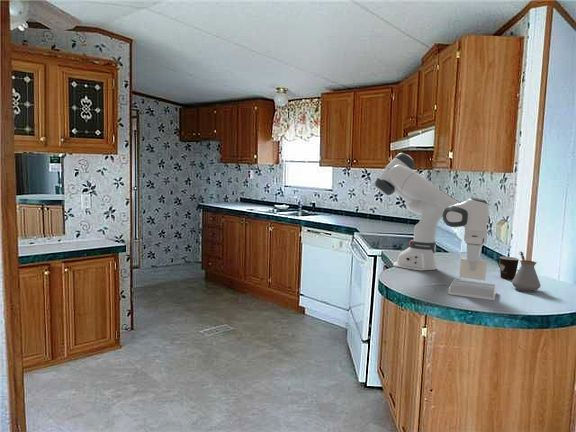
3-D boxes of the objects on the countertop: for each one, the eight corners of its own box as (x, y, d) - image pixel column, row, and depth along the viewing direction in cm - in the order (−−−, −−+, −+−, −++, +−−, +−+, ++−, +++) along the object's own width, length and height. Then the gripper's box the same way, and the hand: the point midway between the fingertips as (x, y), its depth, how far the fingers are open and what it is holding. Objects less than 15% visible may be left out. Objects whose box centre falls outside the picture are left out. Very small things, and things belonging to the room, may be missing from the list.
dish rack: (448, 294, 198) (448, 284, 198) (451, 287, 210) (452, 278, 210) (494, 300, 191) (495, 290, 190) (495, 293, 202) (496, 284, 202)
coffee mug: (519, 280, 227) (521, 260, 226) (500, 279, 229) (502, 259, 228) (512, 275, 239) (514, 256, 238) (494, 274, 240) (496, 255, 239)
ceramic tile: (459, 277, 198) (460, 258, 197) (460, 276, 200) (461, 257, 200) (484, 280, 194) (486, 261, 193) (485, 279, 196) (486, 260, 195)
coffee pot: (543, 294, 203) (546, 260, 201) (514, 291, 206) (516, 258, 204) (531, 283, 223) (534, 252, 222) (505, 280, 226) (508, 250, 225)
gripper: (469, 233, 206) (467, 264, 207) (465, 239, 188) (462, 273, 189) (485, 235, 203) (482, 266, 205) (482, 241, 185) (479, 275, 186)
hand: (472, 270), depth 197 cm, fingers closed on ceramic tile, 2 cm apart
